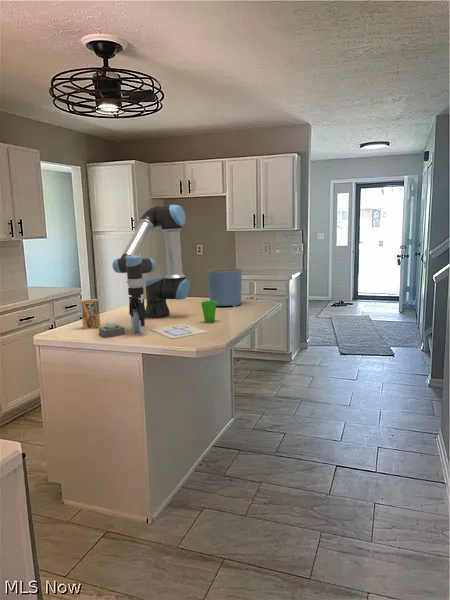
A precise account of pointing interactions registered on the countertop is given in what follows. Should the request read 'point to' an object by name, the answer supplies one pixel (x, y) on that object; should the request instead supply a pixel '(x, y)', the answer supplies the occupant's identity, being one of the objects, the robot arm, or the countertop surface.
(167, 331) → the picture sheet
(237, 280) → the planter
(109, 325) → the button
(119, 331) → the button housing
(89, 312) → the candy box
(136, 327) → the blue bottle
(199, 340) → the countertop surface
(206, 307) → the cup
